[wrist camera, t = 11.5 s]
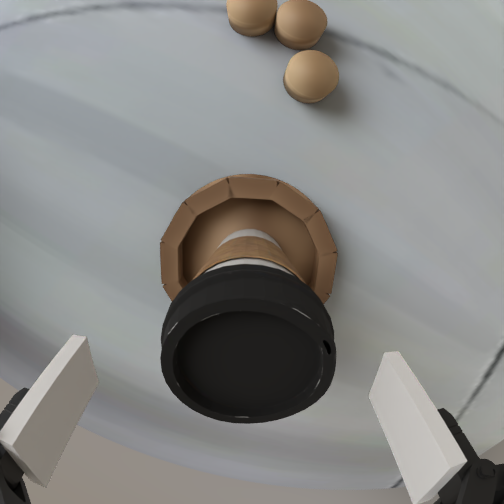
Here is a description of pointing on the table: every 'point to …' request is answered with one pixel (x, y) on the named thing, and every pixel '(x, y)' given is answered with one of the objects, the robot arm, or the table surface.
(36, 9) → the table surface
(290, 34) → the bead
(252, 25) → the bead
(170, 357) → the coffee cup
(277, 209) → the round tray
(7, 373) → the table surface
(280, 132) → the table surface
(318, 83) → the bead
